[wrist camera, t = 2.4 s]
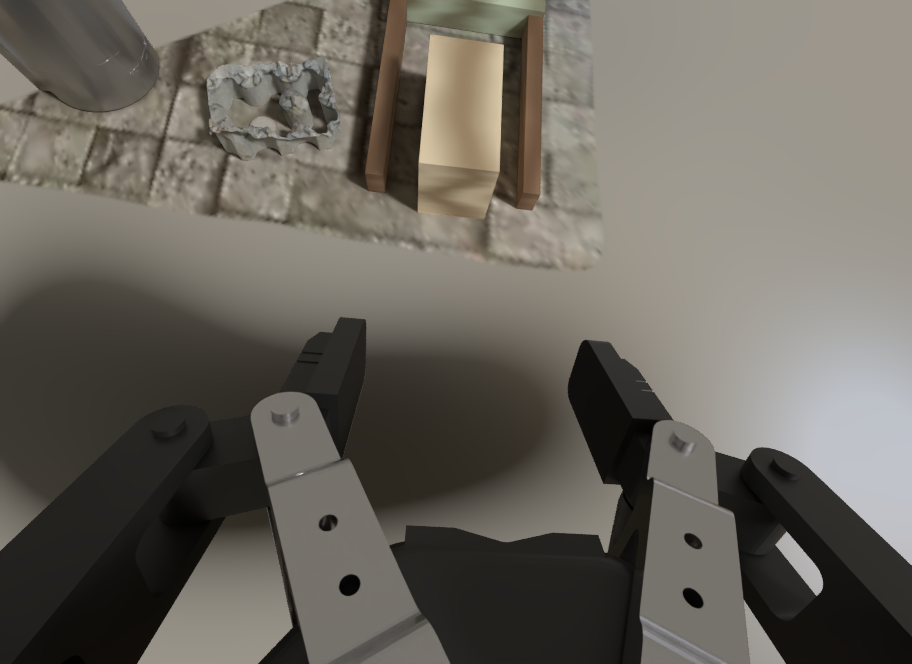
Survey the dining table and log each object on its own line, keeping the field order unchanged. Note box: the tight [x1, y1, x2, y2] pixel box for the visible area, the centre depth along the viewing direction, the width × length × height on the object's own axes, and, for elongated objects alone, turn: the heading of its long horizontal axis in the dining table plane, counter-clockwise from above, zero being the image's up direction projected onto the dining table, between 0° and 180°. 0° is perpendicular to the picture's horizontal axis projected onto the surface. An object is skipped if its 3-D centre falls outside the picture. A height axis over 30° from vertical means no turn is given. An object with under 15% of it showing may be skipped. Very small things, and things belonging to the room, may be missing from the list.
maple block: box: [418, 35, 504, 219], centre depth 35 cm, size 6×12×7 cm, turn 177°
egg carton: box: [207, 57, 342, 161], centre depth 35 cm, size 11×8×4 cm
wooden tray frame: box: [365, 0, 545, 210], centre depth 38 cm, size 15×22×3 cm
